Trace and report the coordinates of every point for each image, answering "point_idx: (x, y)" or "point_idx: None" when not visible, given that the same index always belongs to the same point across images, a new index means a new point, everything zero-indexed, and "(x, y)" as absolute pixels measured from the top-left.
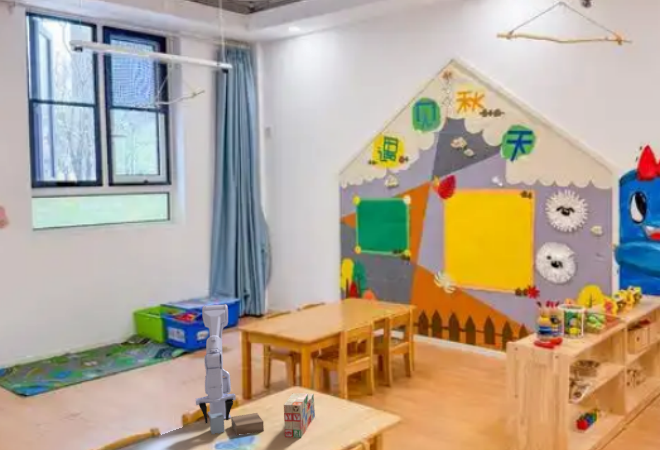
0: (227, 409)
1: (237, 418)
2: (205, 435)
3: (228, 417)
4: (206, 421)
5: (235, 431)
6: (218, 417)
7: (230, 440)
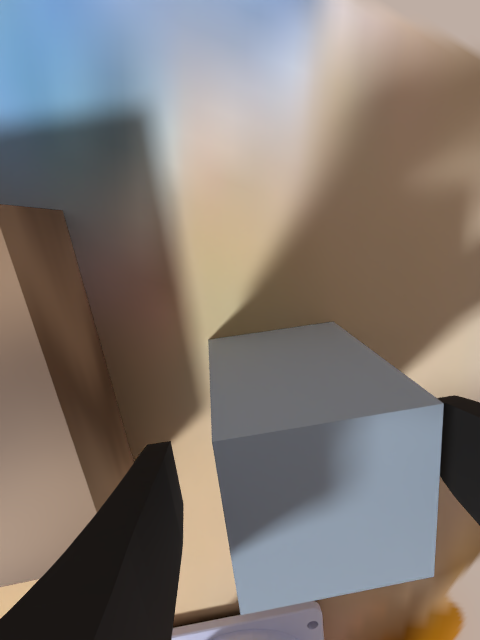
0: (89, 612)
1: (18, 501)
2: (396, 307)
3: (130, 468)
4: (471, 404)
5: (81, 300)
6: (310, 426)
7: (136, 64)
